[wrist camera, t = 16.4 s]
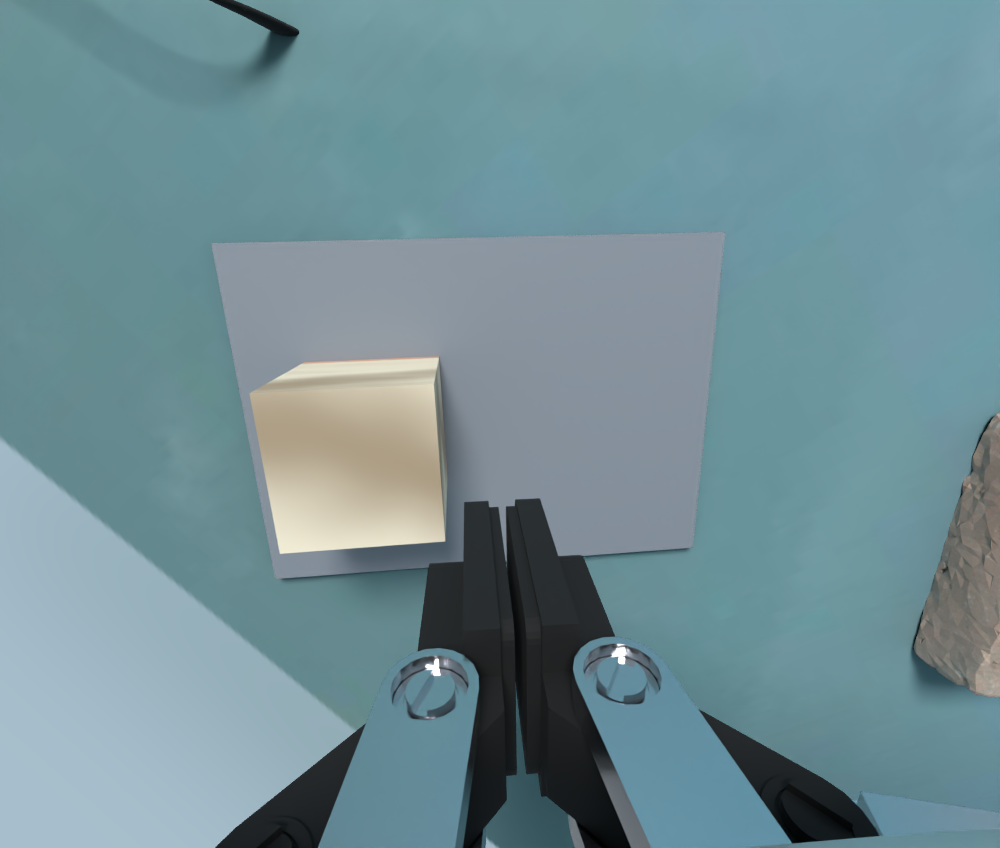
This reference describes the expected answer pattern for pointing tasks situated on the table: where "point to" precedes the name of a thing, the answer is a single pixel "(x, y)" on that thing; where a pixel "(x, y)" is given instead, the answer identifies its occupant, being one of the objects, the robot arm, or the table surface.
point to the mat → (506, 371)
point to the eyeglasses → (259, 17)
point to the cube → (354, 453)
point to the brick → (969, 582)
